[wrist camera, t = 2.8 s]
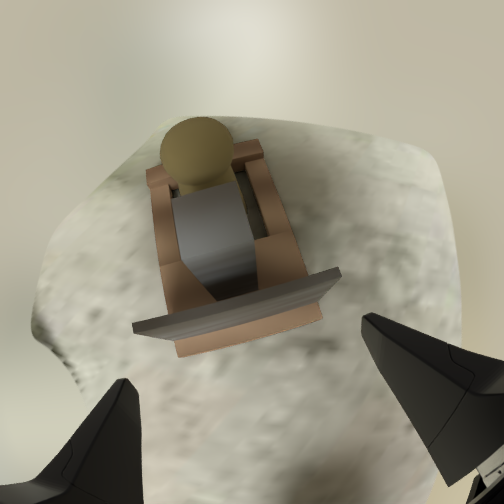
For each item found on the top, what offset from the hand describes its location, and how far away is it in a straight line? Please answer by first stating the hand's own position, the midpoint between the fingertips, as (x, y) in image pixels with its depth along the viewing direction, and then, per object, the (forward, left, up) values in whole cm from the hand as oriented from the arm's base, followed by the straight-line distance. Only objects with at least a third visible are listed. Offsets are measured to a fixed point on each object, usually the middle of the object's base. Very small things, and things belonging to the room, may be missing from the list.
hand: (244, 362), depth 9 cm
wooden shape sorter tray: (+9, +6, -13) cm, 17 cm away
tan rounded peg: (+12, +7, -14) cm, 20 cm away
